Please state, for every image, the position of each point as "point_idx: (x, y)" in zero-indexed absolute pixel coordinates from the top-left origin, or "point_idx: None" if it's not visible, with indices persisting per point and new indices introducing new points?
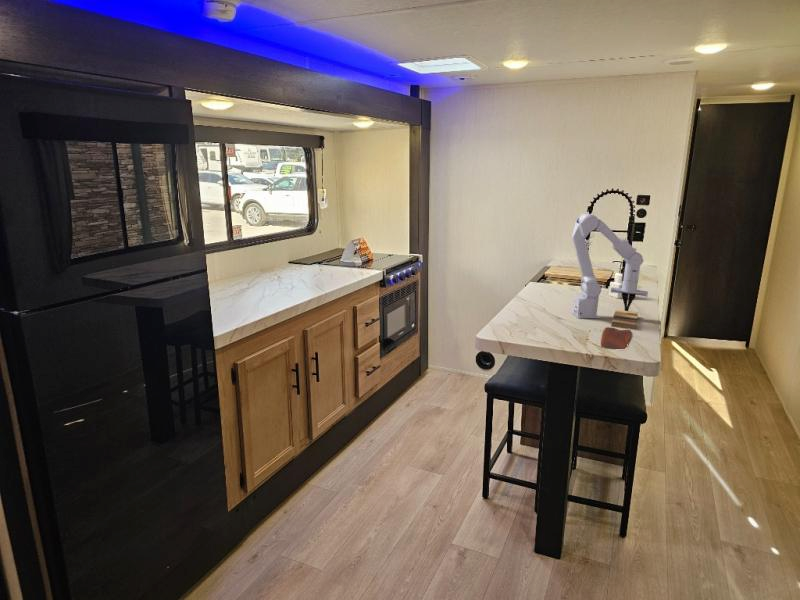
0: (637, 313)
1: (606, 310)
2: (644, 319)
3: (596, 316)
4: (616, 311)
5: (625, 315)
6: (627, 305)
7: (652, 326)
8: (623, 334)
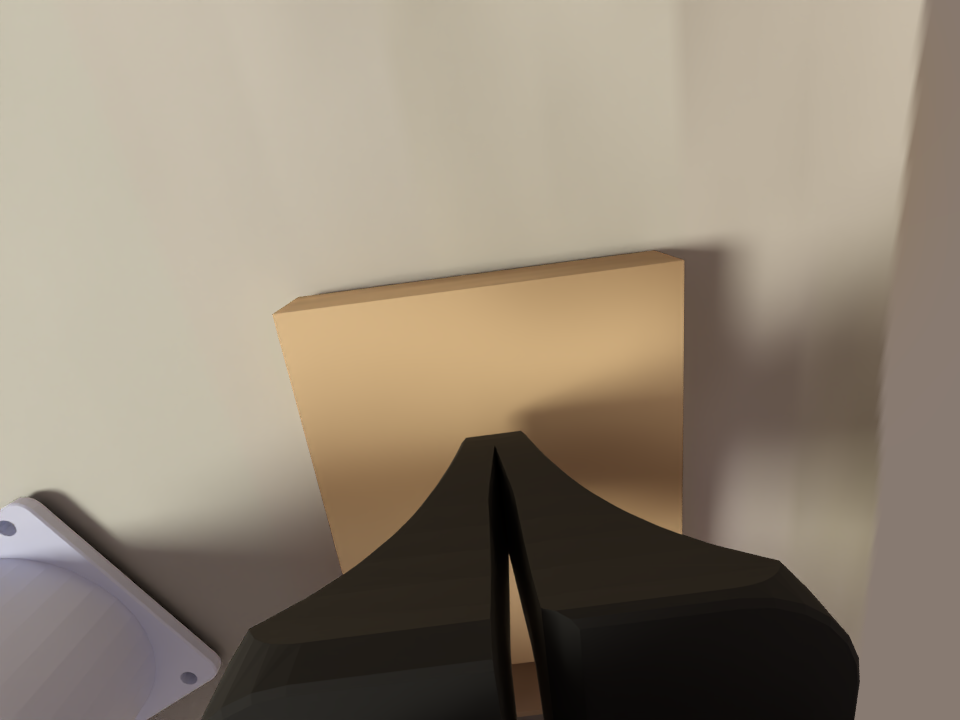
0: (676, 354)
1: (83, 122)
2: (756, 334)
3: (164, 664)
4: (329, 445)
5: (511, 576)
6: (527, 624)
7: (841, 602)
8: None
